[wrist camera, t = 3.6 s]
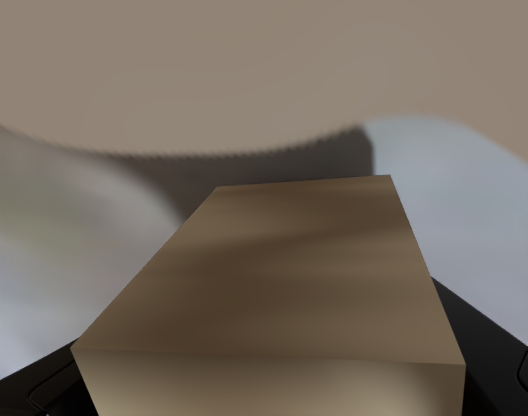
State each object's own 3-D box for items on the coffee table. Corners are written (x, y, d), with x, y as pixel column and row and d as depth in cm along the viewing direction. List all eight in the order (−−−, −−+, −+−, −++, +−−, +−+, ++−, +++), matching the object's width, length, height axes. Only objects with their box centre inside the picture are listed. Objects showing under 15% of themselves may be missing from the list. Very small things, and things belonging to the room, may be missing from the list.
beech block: (389, 174, 9) (466, 364, 4) (391, 321, 11) (444, 605, 5) (217, 186, 10) (70, 347, 5) (242, 319, 12) (157, 552, 6)
